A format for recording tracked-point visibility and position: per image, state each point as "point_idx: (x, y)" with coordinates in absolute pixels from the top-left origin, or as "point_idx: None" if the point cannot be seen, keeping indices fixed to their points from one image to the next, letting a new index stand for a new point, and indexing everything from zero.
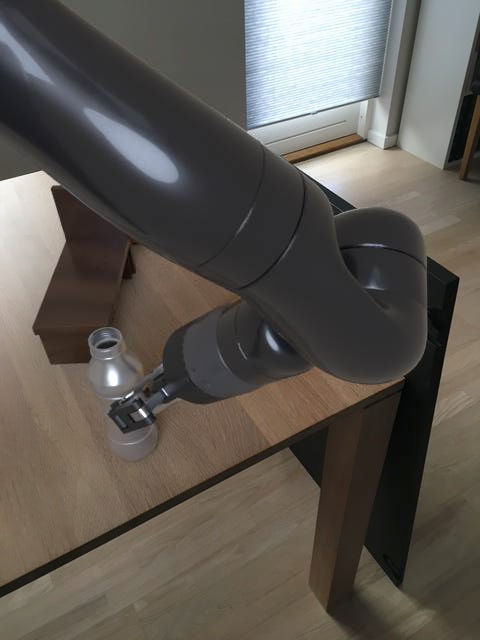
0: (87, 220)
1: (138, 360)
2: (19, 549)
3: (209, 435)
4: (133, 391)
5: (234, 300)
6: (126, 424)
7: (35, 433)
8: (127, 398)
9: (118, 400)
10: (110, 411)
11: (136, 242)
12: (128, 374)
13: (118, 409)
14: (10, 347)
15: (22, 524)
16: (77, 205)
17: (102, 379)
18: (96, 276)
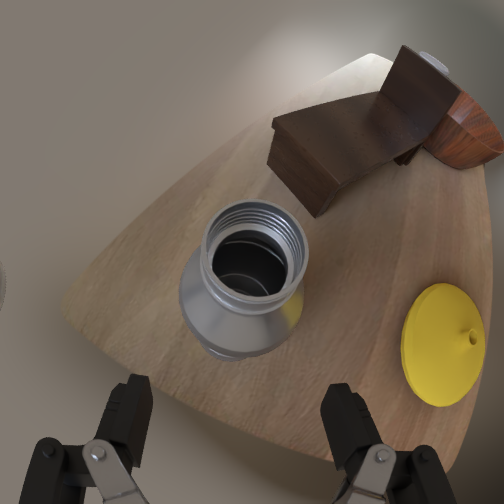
0: (410, 91)
1: (290, 326)
2: (74, 298)
3: (296, 397)
4: (123, 477)
5: (457, 288)
6: (64, 482)
7: (183, 212)
8: (92, 475)
9: (128, 405)
10: (43, 449)
11: (425, 147)
12: (237, 343)
13: (25, 494)
14: (259, 123)
15: (93, 281)
16: (413, 74)
17: (189, 298)
18: (377, 133)
